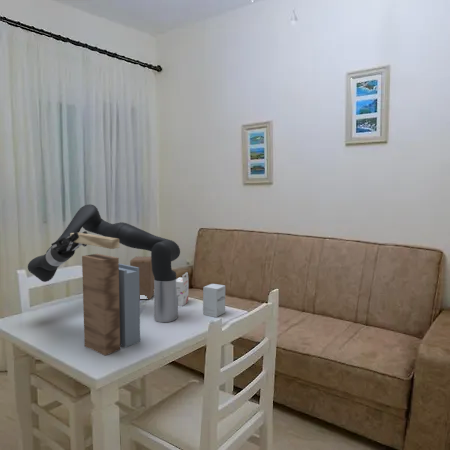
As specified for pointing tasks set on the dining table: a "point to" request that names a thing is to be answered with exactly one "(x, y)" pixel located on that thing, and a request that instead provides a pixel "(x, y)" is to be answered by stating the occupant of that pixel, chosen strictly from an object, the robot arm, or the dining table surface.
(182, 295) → the ink cartridge box
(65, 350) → the dining table surface
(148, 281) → the wooden block
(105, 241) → the bar
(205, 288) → the supplement box
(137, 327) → the grey post
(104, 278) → the walnut tower
